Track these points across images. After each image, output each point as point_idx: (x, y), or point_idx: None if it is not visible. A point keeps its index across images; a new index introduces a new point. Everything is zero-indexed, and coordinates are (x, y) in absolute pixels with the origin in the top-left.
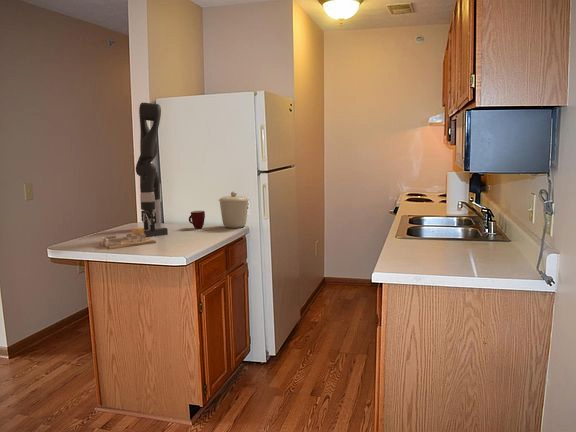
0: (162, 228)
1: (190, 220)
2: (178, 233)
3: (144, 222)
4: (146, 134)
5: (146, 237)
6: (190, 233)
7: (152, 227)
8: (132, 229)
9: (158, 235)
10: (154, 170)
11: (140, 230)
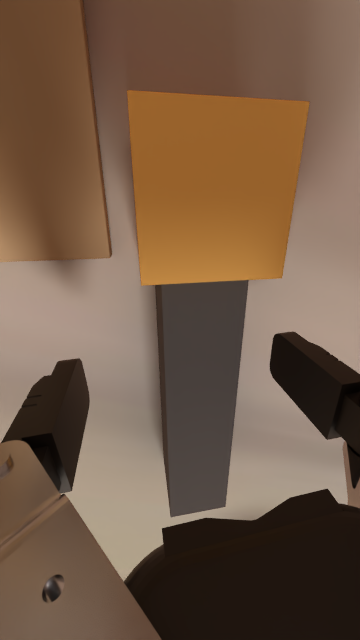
0: (193, 486)
1: None
2: (160, 515)
3: (357, 399)
4: None
5: (13, 256)
6: None
7: (18, 419)
8: (290, 102)
9: (161, 401)
10: None
11: (137, 224)
